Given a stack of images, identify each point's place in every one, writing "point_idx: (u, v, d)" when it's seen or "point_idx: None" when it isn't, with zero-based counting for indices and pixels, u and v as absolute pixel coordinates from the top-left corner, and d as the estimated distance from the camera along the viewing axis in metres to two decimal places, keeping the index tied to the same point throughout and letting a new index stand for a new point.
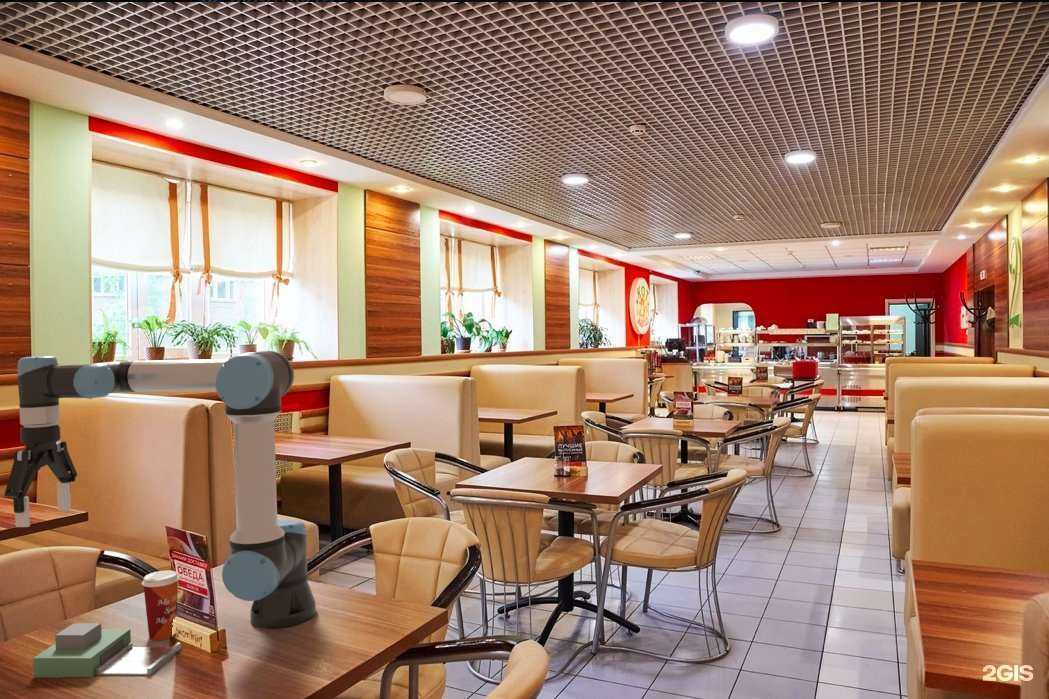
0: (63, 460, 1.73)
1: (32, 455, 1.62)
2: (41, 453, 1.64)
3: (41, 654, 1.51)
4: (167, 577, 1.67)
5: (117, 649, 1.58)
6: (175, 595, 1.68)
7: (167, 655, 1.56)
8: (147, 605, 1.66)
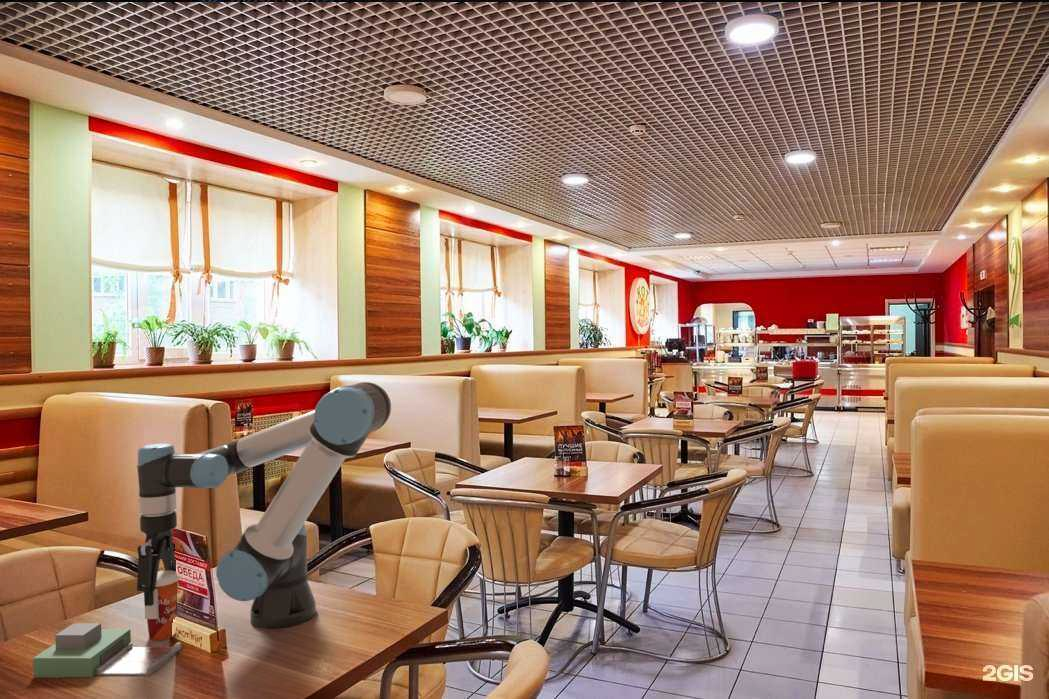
0: (173, 549, 1.74)
1: (153, 545, 1.64)
2: (160, 542, 1.66)
3: (41, 654, 1.51)
4: (167, 577, 1.67)
5: (117, 649, 1.58)
6: (175, 595, 1.68)
7: (167, 655, 1.56)
8: None
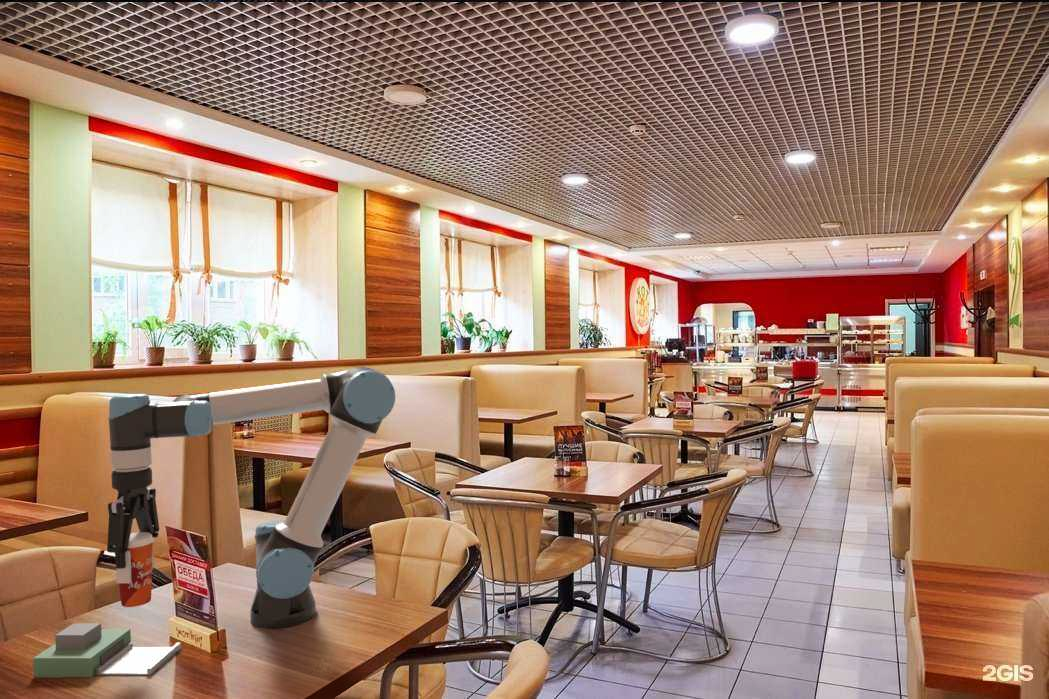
0: (149, 510, 1.60)
1: (126, 503, 1.51)
2: (133, 500, 1.52)
3: (41, 654, 1.51)
4: (141, 538, 1.53)
5: (117, 649, 1.58)
6: (149, 558, 1.55)
7: (167, 655, 1.56)
8: None
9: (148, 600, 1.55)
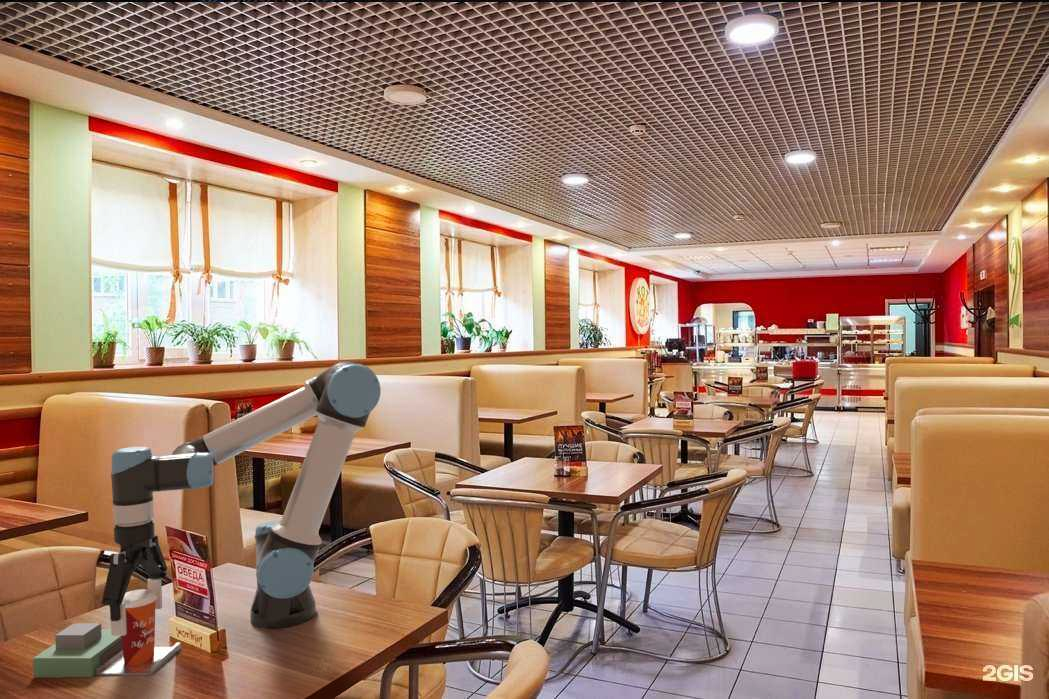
0: (154, 555, 1.62)
1: (127, 556, 1.51)
2: (136, 553, 1.53)
3: (41, 654, 1.51)
4: (143, 597, 1.54)
5: (117, 649, 1.58)
6: (152, 616, 1.55)
7: (167, 655, 1.56)
8: None
9: (151, 658, 1.55)
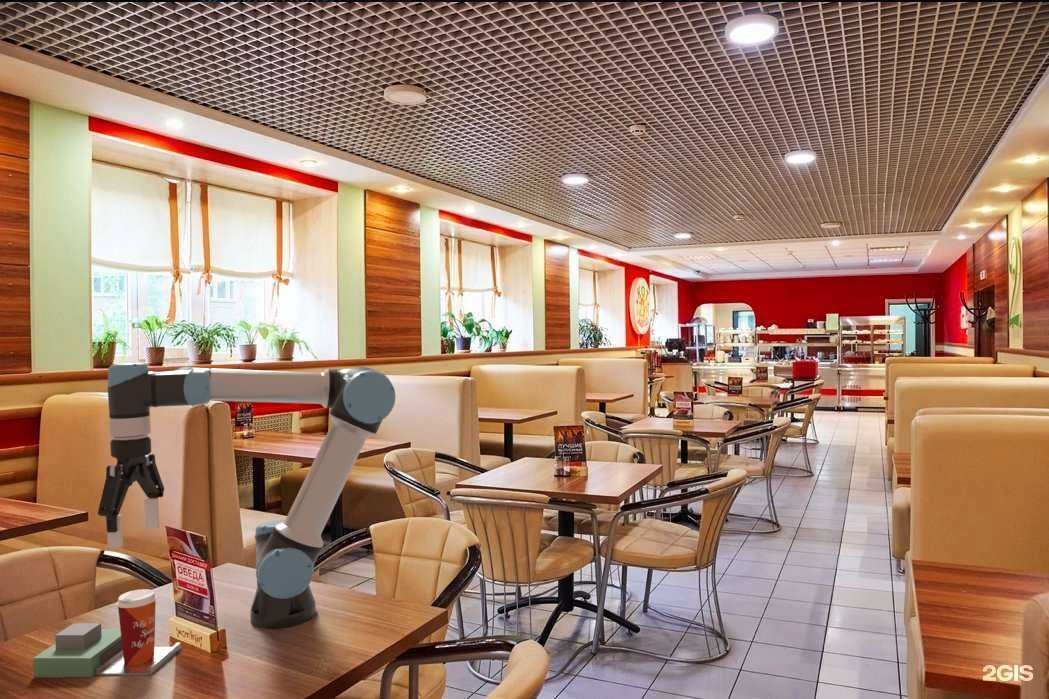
0: (151, 474, 1.61)
1: (124, 470, 1.50)
2: (132, 467, 1.52)
3: (41, 654, 1.51)
4: (144, 597, 1.54)
5: (117, 649, 1.58)
6: (152, 616, 1.55)
7: (167, 655, 1.56)
8: (122, 627, 1.53)
9: (151, 658, 1.55)
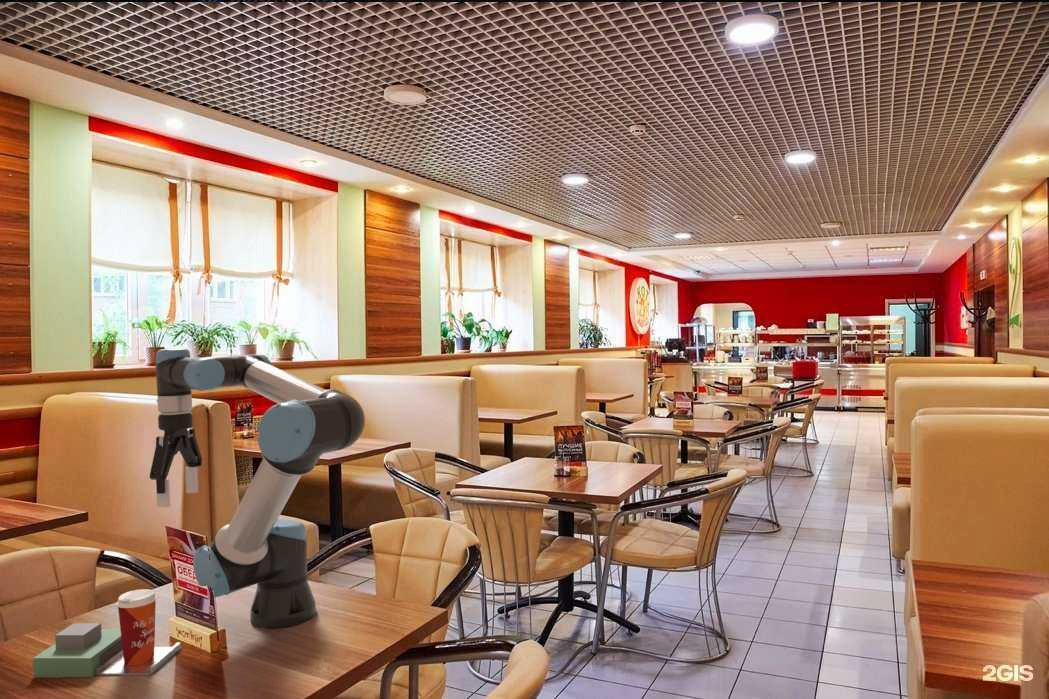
0: (191, 446, 1.85)
1: (170, 440, 1.74)
2: (177, 439, 1.76)
3: (41, 654, 1.51)
4: (144, 597, 1.54)
5: (117, 649, 1.58)
6: (152, 616, 1.55)
7: (167, 655, 1.56)
8: (122, 627, 1.53)
9: (151, 658, 1.55)
